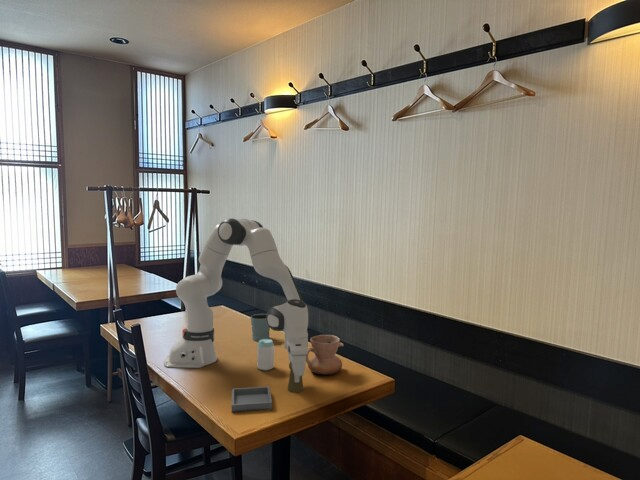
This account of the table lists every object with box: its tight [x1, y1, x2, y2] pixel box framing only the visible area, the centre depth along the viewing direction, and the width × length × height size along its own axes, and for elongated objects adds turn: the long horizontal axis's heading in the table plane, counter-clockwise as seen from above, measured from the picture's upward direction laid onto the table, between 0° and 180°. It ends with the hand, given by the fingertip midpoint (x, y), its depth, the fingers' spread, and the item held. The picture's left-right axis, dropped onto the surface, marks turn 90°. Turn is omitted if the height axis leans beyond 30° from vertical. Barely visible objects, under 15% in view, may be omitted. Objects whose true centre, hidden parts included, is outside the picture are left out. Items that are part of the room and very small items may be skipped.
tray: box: [231, 386, 273, 413], centre depth 158 cm, size 14×14×2 cm
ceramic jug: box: [306, 334, 344, 376], centre depth 188 cm, size 18×14×14 cm
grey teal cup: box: [250, 313, 271, 342], centre depth 231 cm, size 10×10×12 cm
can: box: [256, 338, 275, 371], centre depth 191 cm, size 7×7×12 cm
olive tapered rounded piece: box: [287, 361, 304, 393], centre depth 170 cm, size 6×6×11 cm
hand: (295, 378), depth 170 cm, fingers closed on olive tapered rounded piece, 5 cm apart
